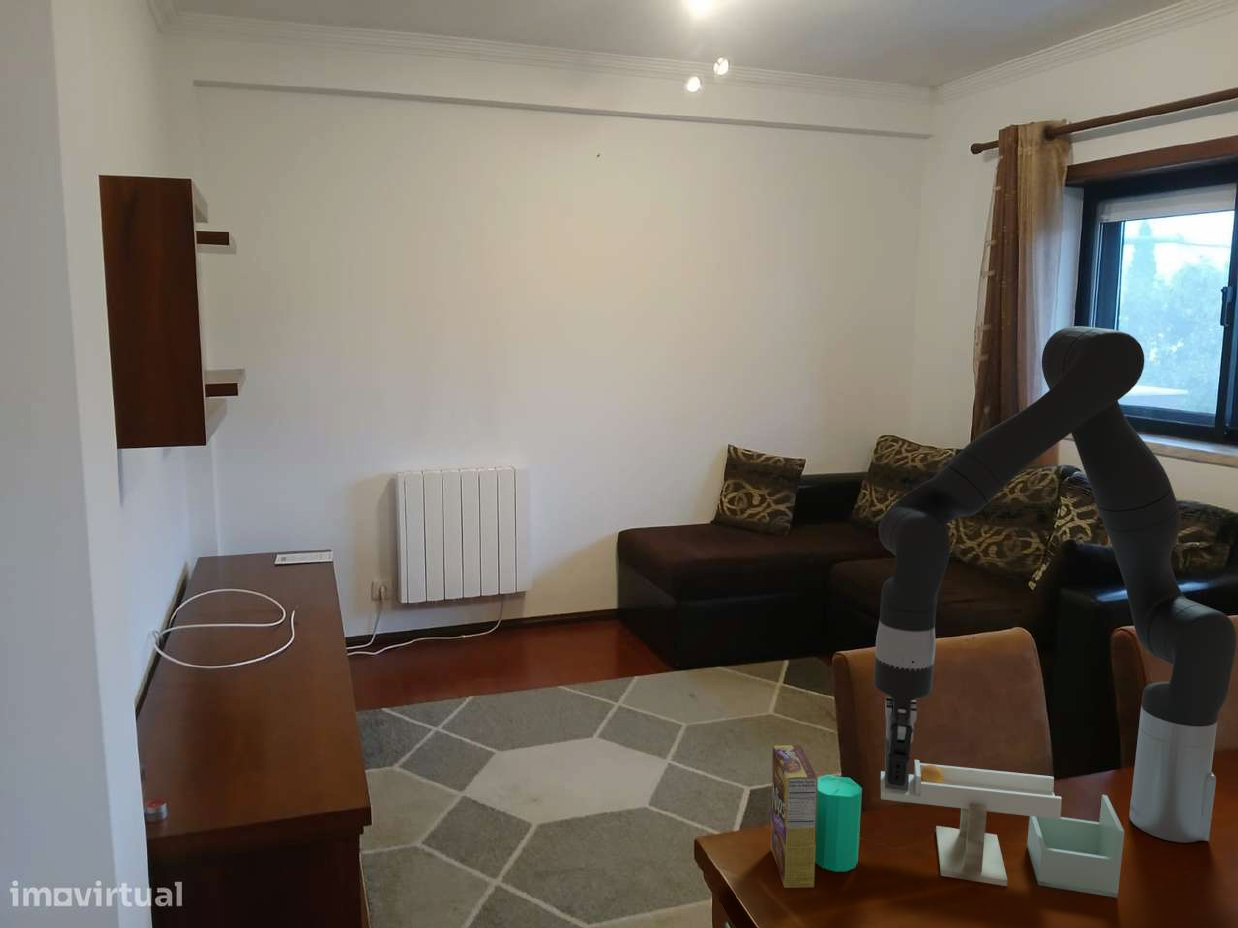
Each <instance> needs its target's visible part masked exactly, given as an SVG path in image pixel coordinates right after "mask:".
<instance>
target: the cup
mask: <svg viewBox="0 0 1238 928" xmlns="http://www.w3.org/2000/svg"><path fill="white" fill-rule="evenodd" d="M1100 802H1101V804H1100V812H1099V821H1098V822H1097V821H1093V820H1086V819H1078V818H1073V817H1072V818H1071V817H1065V816H1061V819H1052V818H1043V817H1034V816H1029V821H1028V834H1027V841H1026V843H1027V844H1026V847H1027V850H1028V855H1029V858H1030V861H1031V866H1032V868H1033V872H1034V875H1035V878H1036V882H1037V886H1042V887H1048V888H1053V889H1060V890H1066V891H1072V892H1079V893H1086V894H1091V895H1092V894H1093V895H1098V896H1104V897H1110V898H1114V899H1118V897H1119V895H1118V894H1119V887H1120V878H1121V869H1122V867H1121V866H1122V861H1123V860H1122V858H1123V851H1124V849H1123V848H1124V841H1125V830H1124V828H1123V826H1122V824H1121V821H1120V819H1119V817H1118V815H1117V813H1116V810H1115V809H1114V807H1113V805H1112V802H1111V801H1110V798H1109V796H1108V795H1107V794H1101V801H1100Z"/></svg>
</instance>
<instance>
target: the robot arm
mask: <svg viewBox="0 0 1238 928" xmlns="http://www.w3.org/2000/svg"><path fill="white" fill-rule="evenodd" d="M1144 368H1145V353H1144V350H1143V347H1142V345H1141V344H1140V342H1139V341H1138V340H1137V339H1136V338H1135V337H1134V336H1132V335H1131V334H1129V333H1127V332H1124V331H1121V330H1117V329H1111V328H1103V327H1092V326H1083V325H1081V326H1080V325H1079V326H1078V325H1077V326H1068V327H1063V328H1062V329H1059V330H1057V331H1056V332H1055V333H1053V334H1052V335H1051V336H1050V337H1049V338H1048V339H1047V342H1046V343H1045V345H1044V348H1043V350H1042V355H1041V369H1042V374H1043V378H1044V380H1045V381H1044V382H1045V383H1046V386H1047V388H1048V390H1047V391H1046V393H1044V394H1043V395H1042V396H1041V397H1040V398H1038V399H1037V400H1036V401H1034V402H1033V403H1031V404H1030V405H1029V406H1027V407H1025V408H1024V409H1022V410H1021V411H1019V412H1018V413H1016V414H1014V415H1012V416H1010V417H1009V418H1007V419H1006V420H1004V421H1001V422H1000V423H997V425H995V426H993V427H991V428H990V429H987V430H985V432H983V433H981V434H980V435H979V436H977V437H976V438H974V439H973V440H971V442H969V444H967V445H966V446H965V447H964V448H963V449H961V451H959V453H957V454H956V455H955V456H954V457H953V458H952V459H951V460H950V461H949V462H948V463H947V464H946V465H945V466H944V467H943V468H942V469H941V470H940V471H939V472H938V473H937V474H936V475H935V476H933V477H932V478H930V479H929V480H927V481H925V482H923V483H922V484H920V485H919V486H917V487H915V488H914V489H913V490H911V491H909V492H907V493H906V494H904V496H902V497H901V498H899V499H898V500H897V501H896V502H894V503H893V504H892V505H891V506H890V507H889V508H888V510H887V511H886V512H885V513H884V514H883V516H882V518H881V520H880V522H879V525H878V537H879V540H880V542H881V544H882V545H883V547H884V548H885V549H886V551H887V550H888V552H890V553H891V554H893V555H894V557H895V563H894V569H893V573H892V576H891V577H890V578H888V579H886V581H884V583H883V584H882V589H881V596H880V608H879V609H880V611H879V621H878V628H877V631H876V632H877V633H876V636H875V637H876V638H875V639H876V640H875V653H874V665H873V666H874V669H873V686H874V688H876V690H878V691H879V692H881V693H882V694H884V695H888V696H885V704H884V705H885V707H884V710H885V730H886V731H885V739H886V738H887V740H889V751H888V756H889V767H888V783H889V784H893V785H899V786H903V785H904V784H905V776H906V762H909V763H910V759H911V755H910V752H911V751H910V750H911V744H912V743H913V742H914V728H915V722H916V721H917V715H918V714H917V713H918V712H917V711H918V709H917V708H918V707H917V699H919V700H920V699H924V698H926V697H928V696H929V695H930V694H931V693H932V691H933V681H934V668H935V655H936V628H935V627H936V620H937V619H936V617H937V615H936V614H937V603H938V594H939V590H940V588H941V586H942V582H943V580H944V576H945V573H946V570H947V567H948V563H949V559H950V554H951V539H950V533H949V529H948V528H947V524H949V523H951V521H953V520H955V519H957V518H961V517H971V516H973V515H974V516H975V514H977V513H978V512H980V511H981V510H982V509H983V508H984V507H985V506H987V504H989V503H990V502H991V501H992V500H993V499H994V498H995V497H996V496H997V495H998V494H999V493H1000V492H1001V491H1003V489H1004V488H1005V487H1006V486H1008V485H1009V483H1011V482H1012V481H1013V480H1014V479H1015V478H1016V477H1017V476H1018V475H1019V474H1021V473H1022V472H1023V471H1024V470H1025V469H1026V468H1028V466H1030V465H1031V464H1033V462H1035V461H1036V460H1037V459H1038V458H1039V457H1041V456H1042V455H1043V454H1045V453H1046V452H1048V451H1049V450H1050V449H1051V448H1053V447H1054V446H1055V445H1056V444H1058V443H1059V442H1061V441H1062V440H1063V439H1065V438H1066V437H1068V436H1069V435H1070V434H1071V436H1072V439H1073V441H1074V444H1075V446H1076V449H1077V454H1078V456H1079V459H1080V461H1081V464H1082V467H1083V470H1084V472H1085V474H1086V477H1087V480H1088V483H1089V486H1090V489H1091V492H1092V495H1093V498H1094V503H1095V505H1096V507H1097V510H1098V513H1099V516H1100V519H1101V522H1102V524H1103V526H1104V529H1105V531H1106V533H1107V536H1108V538H1109V541H1110V544H1111V547H1112V549H1113V552H1114V553H1113V554H1114V556H1115V559H1116V562H1117V566H1118V568H1119V570H1120V573H1121V576H1122V580H1123V583H1124V587H1125V591H1126V595H1127V599H1128V604H1129V609H1130V614H1131V617H1132V622H1133V626H1134V630H1135V633H1136V634H1135V635H1136V636H1137V639H1138V641H1139V642H1140V644H1141V645H1142V647H1143V648H1144V649H1145V650H1146V651H1147V652H1148V653H1150V654H1151V655H1152V656H1155V657H1156V658H1158V659H1161V660H1162V661H1165V662H1167V663H1169V664H1172V671H1171V674H1170V675H1171V676H1170V680H1169V681H1157V682H1152V683H1149V684H1147V685H1146V686H1145V687H1144V689H1143V691H1142V695H1141V696H1142V697H1141V707H1140V714H1139V723H1138V724H1139V725H1138V732H1137V734H1138V735H1137V740H1136V741H1137V744H1136V751H1135V761H1134V771H1133V779H1132V787H1131V797H1130V804H1129V807H1130V809H1129V815H1128V816H1129V820H1130V821H1131V823H1132V824H1133V825H1134V826H1135V827H1136V828H1138V829H1139V830H1140V831H1142V832H1144V833H1146V834H1148V835H1151V836H1153V837H1155V838H1158V839H1162V840H1165V841H1169V842H1170V841H1171V842H1175V843H1176V842H1177V843H1185V844H1186V843H1194V842H1198V841H1205V842H1209V840H1210V833H1211V832H1210V831H1211V827H1212V826H1211V823H1212V816H1213V809H1214V800H1215V792H1216V784H1217V776H1216V775H1215V774H1214V773H1213V771H1212V767H1213V759H1214V752H1215V744H1216V734H1217V729H1218V728H1217V727H1218V718H1219V713H1220V710H1221V708H1222V707H1223V705H1224V703H1225V701H1226V699H1227V695H1228V692H1229V686H1230V683H1231V677H1232V671H1233V668H1234V666H1233V665H1234V662H1235V657H1236V650H1237V649H1236V648H1237V633H1236V628H1235V624H1234V622H1233V621H1232V620H1231V618H1230V617H1229V616H1228V615H1227V614H1225V613H1223V612H1222V611H1220V610H1217V609H1214V608H1211V607H1210V606H1207V605H1204V604H1201V603H1200V602H1199V603H1198V602H1196V601H1194V600H1190V599H1188V598H1187V597H1186V596H1185V595H1184V593H1183V592H1182V590H1181V588H1180V586H1179V584H1178V582H1177V579H1176V576H1175V573H1174V570H1173V566H1172V559H1171V558H1172V553H1173V550H1174V547H1175V545H1176V543H1177V539H1178V537H1179V533H1180V530H1181V522H1182V521H1181V520H1182V517H1181V513H1180V509H1179V508H1180V507H1179V505H1178V502H1177V498H1176V495H1175V492H1174V489H1173V487H1172V484H1171V481H1170V479H1169V477H1168V473H1167V472H1166V470H1165V468H1164V466H1163V465H1162V463H1161V462H1160V460H1159V459H1158V458H1157V456H1156V455H1155V454H1154V452H1153V450H1151V449H1150V447H1149V446H1148V445H1147V443H1145V441H1144V440H1143V438H1142V437H1141V436H1140V435H1139V434H1138V433H1137V431H1136V430H1135V429H1134V428H1133V426H1132V425H1131V424H1130V422H1129V421H1128V419H1127V417H1126V416H1125V413H1124V412H1123V410H1122V408H1121V405H1120V403H1119V400H1120V399H1121V398H1123V397H1125V395H1127V394H1128V393H1129V392H1130V391H1131V390H1132V389H1133V388H1134V387H1135V386H1136V385H1137V383H1138V382H1139V381H1140V379H1141V377H1142V375H1143V373H1144V372H1143V371H1144ZM895 748H897V749H904V750H897V749H895Z"/></svg>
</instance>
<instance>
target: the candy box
mask: <svg viewBox="0 0 1238 928" xmlns="http://www.w3.org/2000/svg"><path fill="white" fill-rule="evenodd" d="M771 761H772V762H771V763H772V766H771V767H772V769H771V770H772V775H771V776H772V777H771V817H770V818H771V819H770V822H771V825H770V826H771V827H770V833H771V834H770V836H771V837H770V850H771V853H772V855H773V858H774V861H775V863H776V867H777V869H778V874H779V875H780V878H781V882H782V885H783V888H784V889H806V888H807V889H812V888H814V887H815V876H816V875H815V874H816V873H815V869H816V863H815V849H816V819H817V788H818V779H819V777H818V775H817V773H816V772H815V770H814V769H813V767H812V764H811V762H810V761H809V759H808V757H807V755H806V753H805V750H804V748H803V747H802V745H801V744H798V745H796V744H795V745H794V744H792V745H788V744H787V745H773V746H772V760H771Z"/></svg>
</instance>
